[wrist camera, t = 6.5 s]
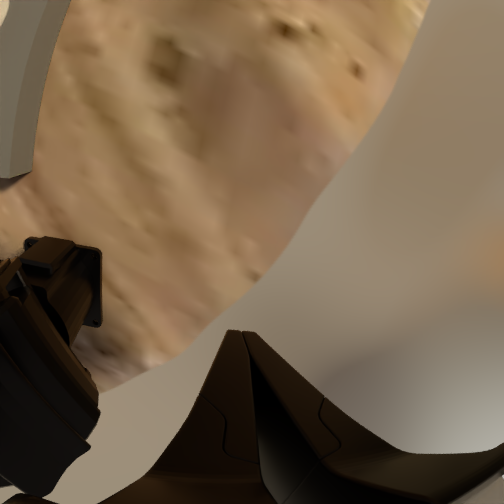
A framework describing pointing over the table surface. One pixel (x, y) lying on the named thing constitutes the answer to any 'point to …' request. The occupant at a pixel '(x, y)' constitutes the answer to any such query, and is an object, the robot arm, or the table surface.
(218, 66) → the table surface
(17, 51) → the console
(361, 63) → the table surface
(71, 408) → the robot arm
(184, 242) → the table surface
